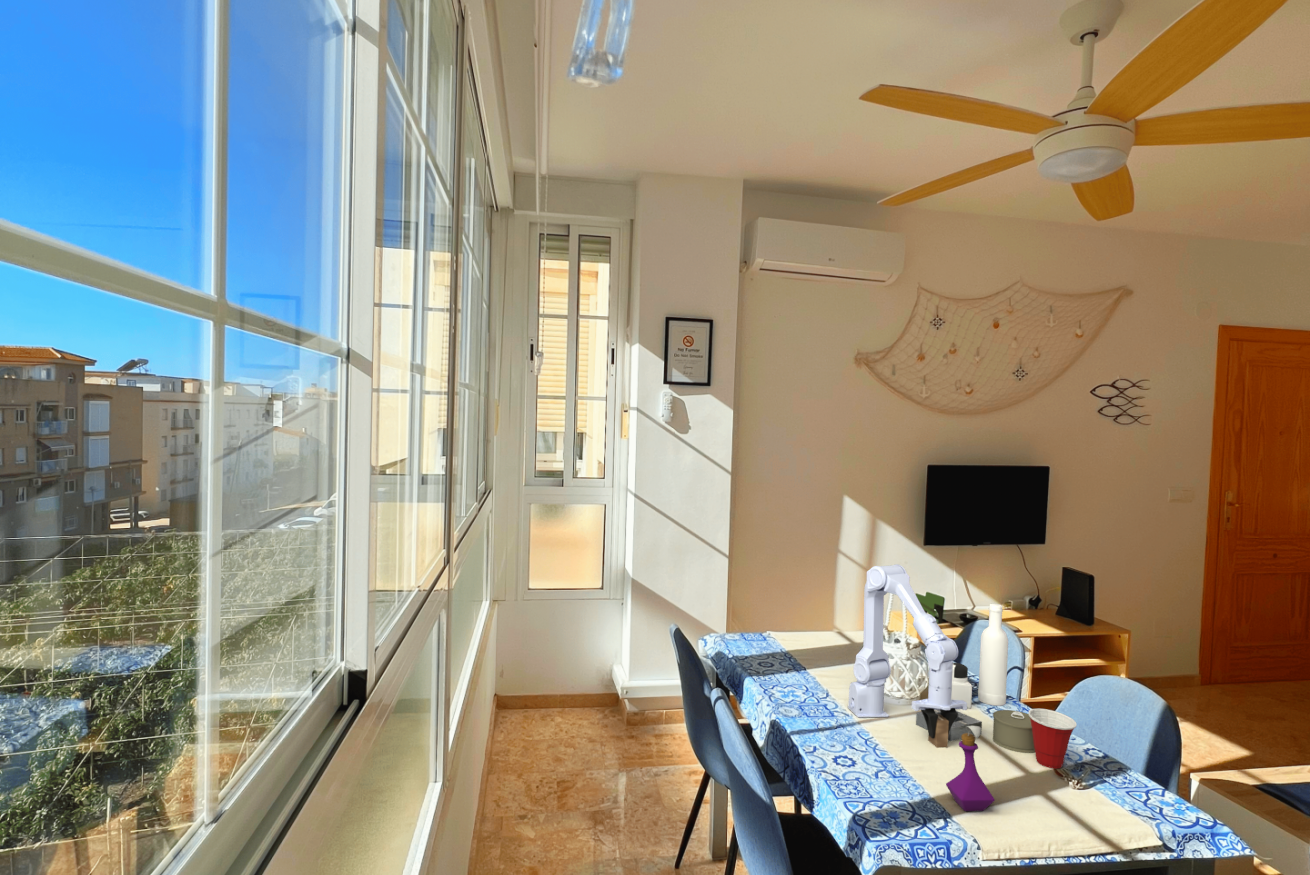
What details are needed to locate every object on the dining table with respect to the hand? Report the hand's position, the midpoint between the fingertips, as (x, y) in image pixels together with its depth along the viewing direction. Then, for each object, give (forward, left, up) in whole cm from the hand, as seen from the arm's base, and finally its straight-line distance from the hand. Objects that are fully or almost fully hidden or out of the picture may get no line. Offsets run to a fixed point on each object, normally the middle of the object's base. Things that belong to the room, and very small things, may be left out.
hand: (938, 736), depth 197 cm
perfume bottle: (-10, -32, -2) cm, 34 cm away
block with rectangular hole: (+8, +9, -2) cm, 12 cm away
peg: (0, 0, -2) cm, 2 cm away
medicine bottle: (+21, +28, -2) cm, 35 cm away
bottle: (+34, +30, -2) cm, 45 cm away
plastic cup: (+23, -13, -2) cm, 27 cm away
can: (+22, -1, -2) cm, 22 cm away
